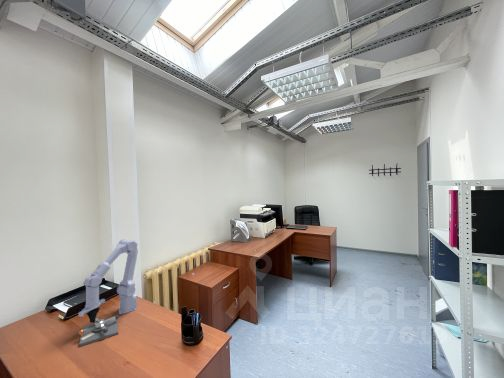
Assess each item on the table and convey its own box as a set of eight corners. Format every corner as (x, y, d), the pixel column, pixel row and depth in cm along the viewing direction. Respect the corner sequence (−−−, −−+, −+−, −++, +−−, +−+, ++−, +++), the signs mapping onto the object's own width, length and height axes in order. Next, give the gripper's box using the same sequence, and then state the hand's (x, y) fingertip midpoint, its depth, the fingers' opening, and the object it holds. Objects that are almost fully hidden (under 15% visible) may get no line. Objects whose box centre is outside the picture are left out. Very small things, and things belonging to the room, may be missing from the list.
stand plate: (117, 318, 126) (117, 316, 126) (118, 334, 112) (118, 331, 112) (82, 328, 117) (82, 326, 117) (78, 347, 103) (78, 344, 103)
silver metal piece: (125, 326, 116) (125, 319, 116) (83, 346, 102) (83, 338, 102) (112, 314, 127) (112, 307, 127) (73, 330, 113) (73, 323, 113)
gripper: (97, 290, 125) (97, 314, 125) (73, 303, 111) (73, 330, 111) (108, 291, 124) (108, 315, 124) (85, 304, 110) (85, 331, 110)
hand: (92, 322), depth 117 cm, fingers closed, pressing on silver metal piece
